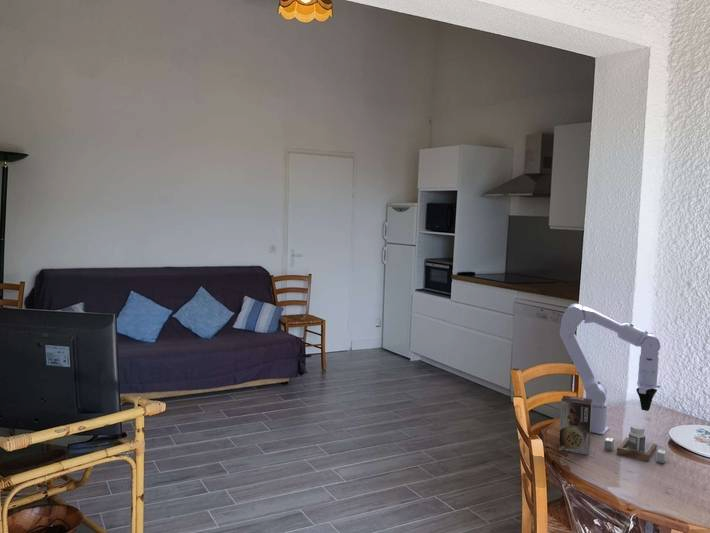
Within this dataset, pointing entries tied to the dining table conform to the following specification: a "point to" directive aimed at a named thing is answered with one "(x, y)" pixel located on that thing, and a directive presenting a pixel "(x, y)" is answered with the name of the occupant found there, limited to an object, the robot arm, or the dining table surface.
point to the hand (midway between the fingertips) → (645, 410)
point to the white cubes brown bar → (635, 454)
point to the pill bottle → (637, 438)
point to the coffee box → (575, 424)
